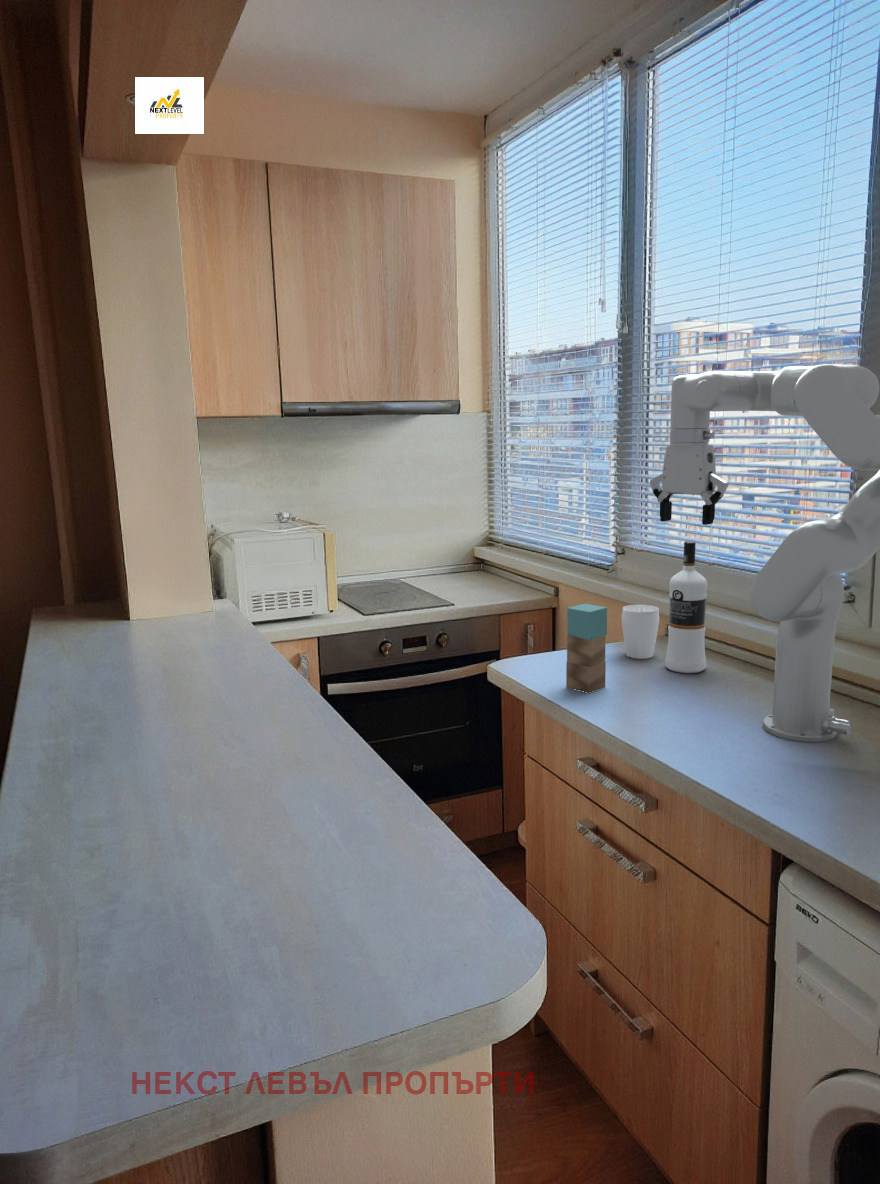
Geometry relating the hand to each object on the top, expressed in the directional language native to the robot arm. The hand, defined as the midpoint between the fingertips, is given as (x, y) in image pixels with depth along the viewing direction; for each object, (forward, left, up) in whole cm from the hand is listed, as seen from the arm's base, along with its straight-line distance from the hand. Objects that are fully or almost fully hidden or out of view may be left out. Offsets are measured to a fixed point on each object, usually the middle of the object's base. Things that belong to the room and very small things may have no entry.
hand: (686, 522), depth 167 cm
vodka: (+8, -15, -36) cm, 40 cm away
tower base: (+16, +12, -36) cm, 42 cm away
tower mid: (+16, +12, -30) cm, 36 cm away
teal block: (+16, +12, -24) cm, 31 cm away
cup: (+22, -17, -36) cm, 46 cm away
